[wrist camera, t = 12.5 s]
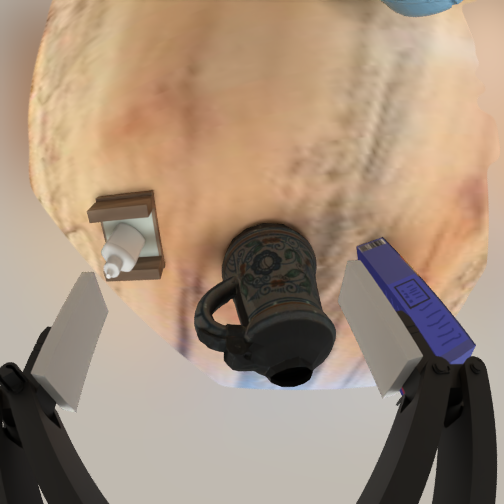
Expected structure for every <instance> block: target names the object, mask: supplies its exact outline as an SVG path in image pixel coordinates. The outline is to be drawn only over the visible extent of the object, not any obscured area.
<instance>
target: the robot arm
mask: <svg viewBox="0 0 504 504" xmlns="http://www.w3.org/2000/svg"><path fill="white" fill-rule="evenodd" d="M381 1H382V2H383V3H385V4H386V5H387V6H388V7H389V8H391V9H392V10H393V11H395V12H396V13H399V14H401V15H404V16H408V17H423V16H429V15H433V14H437V13H440V12H443V11H446V10H448V9H450V8H452V5H454V4H459V3H460V2H461V1H463V0H381ZM338 303H339V305H340V307H341V309H342V311H343V313H344V315H345V317H346V319H347V321H348V323H349V325H350V327H351V329H352V332H353V334H354V336H355V338H356V340H357V342H358V344H359V346H360V349H361V351H362V353H363V355H364V357H365V360H366V362H367V364H368V366H369V368H370V371H371V373H372V375H373V377H374V380H375V382H376V384H377V387H378V389H379V391H380V394H381V395H382V398H386V397H389V396H392V395H396V394H397V393H398V392H399V391H400V389H401V388H402V387H403V389H404V391H405V393H404V394H403V396H402V397H401V398H400V399H399V401H398V402H397V404H396V405H397V406H398V405H399V404H400V406H399V409H398V412H397V414H396V417H395V420H394V423H393V425H392V428H391V431H390V434H389V436H388V438H387V441H386V444H385V446H384V448H383V451H382V453H381V455H380V457H379V460H378V462H377V464H376V466H375V468H374V470H373V472H372V475H371V477H370V479H369V481H368V483H367V485H366V486H365V489H364V490H363V492H362V494H361V496H360V498H359V499H358V501H357V503H356V504H418V503H419V500H420V498H421V496H422V493H423V490H424V488H425V485H426V482H427V480H428V476H429V474H430V471H431V468H432V464H433V461H434V458H435V455H436V451H437V448H438V455H437V468H436V478H435V487H434V494H433V501H432V504H495V498H496V485H497V444H496V429H495V419H494V410H493V403H492V397H491V390H490V384H489V379H488V374H487V369H486V366H485V364H484V362H483V361H482V360H481V359H479V358H478V357H474V356H472V357H469V358H467V359H466V361H465V362H464V363H463V364H450V363H449V362H448V361H447V360H446V359H445V358H443V357H440V356H435V354H434V353H433V351H432V350H431V348H430V347H429V345H428V343H427V342H426V340H425V339H424V337H423V335H422V334H421V333H420V332H419V329H418V328H417V326H415V323H414V322H413V320H412V319H411V317H410V316H409V315H407V314H406V313H405V312H404V311H402V310H400V311H395V310H394V308H393V307H392V305H391V304H390V302H389V301H388V299H387V298H386V296H385V295H384V293H383V292H382V290H381V289H380V287H379V286H378V284H377V283H376V282H375V280H374V279H373V277H372V276H371V274H370V273H369V272H368V270H367V269H366V267H365V266H364V265H363V263H362V262H361V260H353V261H347V265H346V270H345V274H344V278H343V282H342V286H341V291H340V295H339V299H338ZM107 314H108V309H107V307H106V304H105V301H104V299H103V296H102V293H101V291H100V288H99V285H98V282H97V279H96V276H95V273H94V272H82V273H81V275H80V277H79V278H78V280H77V282H76V283H75V285H74V287H73V289H72V290H71V292H70V294H69V296H68V297H67V299H66V301H65V303H64V305H63V306H62V308H61V310H60V312H59V314H58V316H57V318H56V320H55V322H54V324H53V326H52V327H47V328H46V329H45V330H44V331H43V332H42V333H41V334H40V336H39V338H38V340H37V344H35V346H34V348H33V351H32V353H31V355H30V357H29V359H28V361H27V364H26V366H25V368H24V370H23V372H22V371H21V370H20V369H19V367H18V366H17V365H16V364H15V363H12V362H9V363H6V364H4V365H3V366H1V368H0V385H1V386H0V504H44V503H43V500H42V497H41V493H40V490H39V486H40V489H41V491H42V493H43V495H44V497H45V499H46V501H47V502H48V504H109V503H108V502H107V500H106V499H105V497H104V496H103V495H102V493H101V492H100V490H99V489H98V487H97V486H96V484H95V483H94V481H93V479H92V478H91V476H90V474H89V473H88V471H87V469H86V468H85V466H84V464H83V463H82V461H81V459H80V457H79V456H78V454H77V452H76V450H75V448H74V446H73V444H72V442H71V440H70V438H69V436H68V434H67V432H66V430H65V428H64V426H63V423H62V421H61V419H60V417H59V415H58V413H57V411H56V410H55V406H56V403H57V404H58V405H59V406H60V407H61V408H62V409H63V410H67V411H72V412H76V410H77V407H78V403H79V399H80V395H81V392H82V388H83V385H84V381H85V378H86V375H87V371H88V368H89V365H90V362H91V358H92V355H93V353H94V350H95V347H96V344H97V341H98V338H99V335H100V333H101V330H102V327H103V324H104V322H105V319H106V317H107ZM400 402H401V403H400ZM2 422H3V423H4V427H3V423H2ZM38 485H39V486H38Z"/></svg>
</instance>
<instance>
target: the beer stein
mask: <svg viewBox="0 0 504 504" xmlns="http://www.w3.org/2000/svg"><path fill="white" fill-rule="evenodd" d="M315 274H316V257H315V254H314V251H313V249H312V247H311V245H310V244H309V243H308V241H307V240H306V239H305V238H304V237H302V236H301V235H300V234H299V233H297V232H296V231H294V230H292V229H290V228H289V227H287V226H285V225H284V224H269V223H262V224H259V225H256V226H253V227H250V228H247V229H246V230H244V231H243V232H242V233H241V234H239V235H238V236H237V237H235V238H234V239H233V240H232V242H231V244H230V246H229V248H228V250H227V252H226V254H225V258H224V261H223V265H222V278H223V281H222V282H220V283H219V284H217V285H216V286H214V287H213V288H211V289H210V290H209V291H208V292H207V293H206V294H205V295H204V296H203V297H202V298H201V300H200V301H199V303H198V305H197V308H196V311H195V317H194V325H195V329H196V332H197V336H198V338H199V340H200V341H201V342H202V343H204V344H205V345H206V346H207V347H208V348H210V349H212V350H215V351H219V352H224V361H225V362H226V364H227V365H228V366H229V367H230V368H232V370H236V371H255V372H257V373H258V374H261V375H263V376H266V377H267V378H268V379H269V381H270V382H271V383H273V384H276V385H278V386H281V387H295V386H298V385H301V384H304V383H305V382H307V381H308V380H310V378H311V376H312V373H313V370H314V369H315V368H316V367H318V366H319V365H320V364H321V363H323V362H324V360H325V359H326V358H327V357H328V355H329V354H330V352H331V350H332V347H333V345H334V342H335V339H336V330H335V327H334V324H333V323H332V321H331V320H330V319H329V318H328V316H327V315H326V314H325V313H324V312H323V310H322V306H321V302H320V298H319V293H318V289H317V283H316V276H315ZM230 299H233V301H234V303H235V306H236V310H237V314H238V317H239V320H240V323H241V325H231V324H227V325H222V324H220V323H218V322H216V321H214V318H213V316H212V314H213V313H214V312H215V311H216V310H217V309H218V308H220V307H221V306H222V305H224V304H225V303H227V302H228V301H229V300H230Z"/></svg>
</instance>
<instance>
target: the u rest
mask: <svg viewBox="0 0 504 504" xmlns="http://www.w3.org/2000/svg"><path fill="white" fill-rule="evenodd" d="M87 214H88V218H89V222H90V223H96V222H101V226H102V230H103V234H104V238H105V242H107V240H108V238H109V237H110V235H111V234H112V232H113V231H114V230H115V228H116V227H117V225H118V224H119V223H125V224H128V225H130V226H132V227H134V228H135V229H136V230H138V231H139V232H140V233H141V235H142V236H143V237H144V239H145V244H144V246H143V248H142V251H141V253H140V255H139V257H138V260H137V262H136V264H135V266H134V267H133V269H132V270H131V271H129V272H124V271H120V273H119V275H118V276H117V277H115V278H112V277H111V278H110V279H108V278H107V277H106V274H105V272H104V275H105V278H106V281H130V280H154V279H161V275H162V271H163V268H165V262H164V257H163V251H162V245H161V240H160V234H159V228H158V221H157V215H156V208H155V201H154V193H153V191H144V192H134V193H126V194H117V195H109V196H102V197H97V198H96V203H95V204H94V205H93V206H92V207H91V208H90V209H89V210H88V211H87Z"/></svg>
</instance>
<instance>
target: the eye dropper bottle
mask: <svg viewBox="0 0 504 504" xmlns="http://www.w3.org/2000/svg"><path fill="white" fill-rule="evenodd" d="M144 244H145V239H144V237H143V236H142V235H141V233H140V232H139V231H138V230H136V229H135V228H134V227H132V226H130V225H128V224H125V223H119V224H118V225H117V227H116V228H115V230H114V231H113V232H112V234H111V235H110V237H109V238H108V240H107V242H106V243H105V245H104V246H103V248H102V250H101V253H102V256H103V257H104V259H105V260H106V264H105V265H104V272H105V274H106V277H107V278H108V279H110V278H111V277H112V278H115V277H117V276H118V275H119V273H120V271H124V272H129V271H131V270H132V269H133V267H134V266H135V264H136V262H137V260H138V257H139V255H140V253H141V251H142V248H143V246H144Z"/></svg>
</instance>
